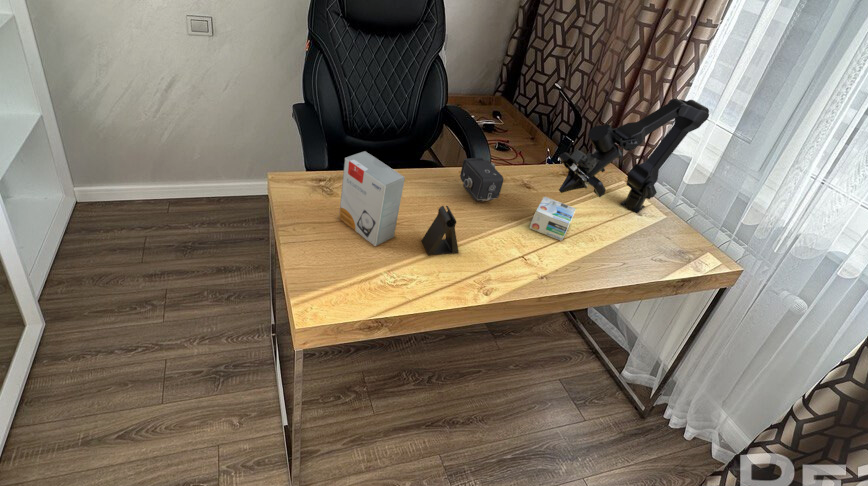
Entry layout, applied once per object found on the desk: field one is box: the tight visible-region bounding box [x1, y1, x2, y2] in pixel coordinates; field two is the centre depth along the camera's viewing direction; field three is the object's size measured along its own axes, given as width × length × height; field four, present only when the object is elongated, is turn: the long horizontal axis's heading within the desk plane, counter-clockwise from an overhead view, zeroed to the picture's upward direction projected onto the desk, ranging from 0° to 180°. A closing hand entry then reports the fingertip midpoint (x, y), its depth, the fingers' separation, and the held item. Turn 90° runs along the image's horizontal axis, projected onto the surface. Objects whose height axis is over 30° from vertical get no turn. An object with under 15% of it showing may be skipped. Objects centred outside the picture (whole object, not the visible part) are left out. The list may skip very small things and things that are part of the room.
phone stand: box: [421, 205, 459, 256], centre depth 137 cm, size 9×6×12 cm, turn 106°
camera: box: [459, 157, 505, 202], centre depth 163 cm, size 11×11×15 cm
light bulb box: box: [529, 195, 576, 242], centre depth 156 cm, size 11×7×11 cm
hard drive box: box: [338, 150, 406, 247], centre depth 136 cm, size 16×8×20 cm, turn 47°
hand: (559, 191), depth 159 cm, fingers closed
